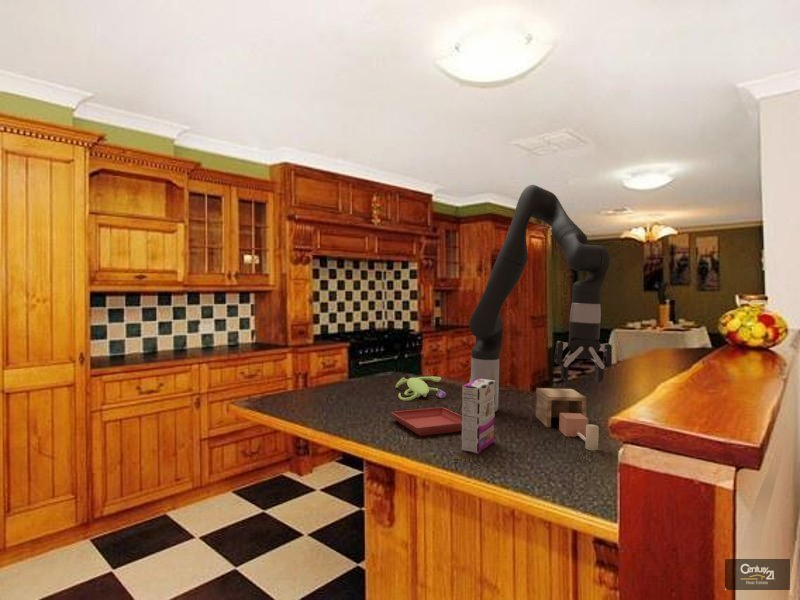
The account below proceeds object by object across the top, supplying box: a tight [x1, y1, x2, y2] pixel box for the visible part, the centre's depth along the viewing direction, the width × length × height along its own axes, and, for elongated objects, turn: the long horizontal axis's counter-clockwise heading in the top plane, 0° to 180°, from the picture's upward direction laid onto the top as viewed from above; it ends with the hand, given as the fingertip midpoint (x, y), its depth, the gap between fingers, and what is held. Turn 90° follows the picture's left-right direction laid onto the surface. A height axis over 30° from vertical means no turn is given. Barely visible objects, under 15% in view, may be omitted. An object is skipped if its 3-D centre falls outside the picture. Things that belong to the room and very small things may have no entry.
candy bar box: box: [460, 379, 496, 455], centre depth 120 cm, size 11×5×16 cm, turn 148°
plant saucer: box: [391, 407, 462, 437], centre depth 137 cm, size 18×18×3 cm
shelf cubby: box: [534, 387, 588, 428], centre depth 145 cm, size 11×12×9 cm
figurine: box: [395, 376, 447, 402], centre depth 181 cm, size 18×27×6 cm
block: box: [558, 413, 600, 451], centre depth 127 cm, size 6×18×6 cm, turn 179°
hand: (581, 381), depth 125 cm, fingers open, 8 cm apart
